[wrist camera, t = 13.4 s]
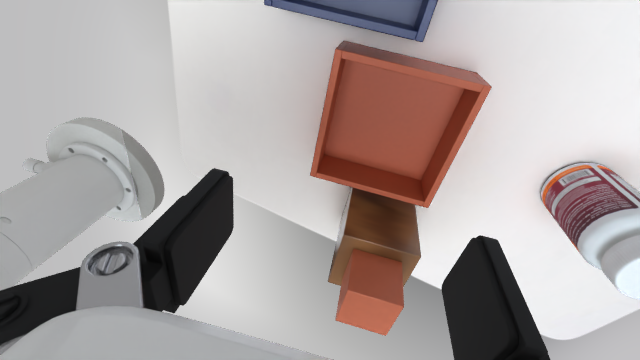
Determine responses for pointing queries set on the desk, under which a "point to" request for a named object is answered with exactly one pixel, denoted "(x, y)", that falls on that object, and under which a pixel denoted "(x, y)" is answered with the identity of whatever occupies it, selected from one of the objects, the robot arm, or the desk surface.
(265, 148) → the desk surface
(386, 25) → the navy bin
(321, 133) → the terracotta bin
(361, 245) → the block
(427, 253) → the desk surface
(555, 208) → the pill bottle
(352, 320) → the terracotta block
